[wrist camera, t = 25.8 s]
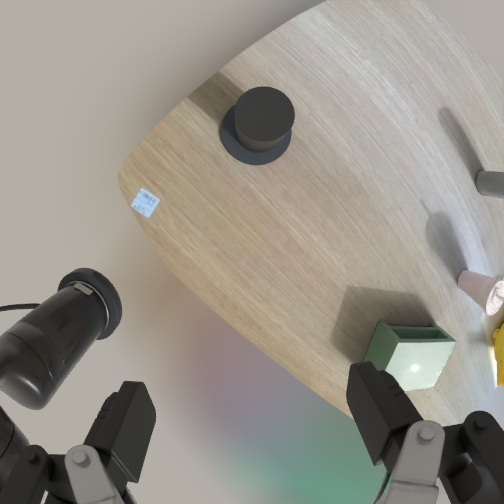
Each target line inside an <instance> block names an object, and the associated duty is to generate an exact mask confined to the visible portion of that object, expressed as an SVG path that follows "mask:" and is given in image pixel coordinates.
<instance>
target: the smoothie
mask: <svg viewBox="0 0 504 504" xmlns="http://www.w3.org/2000/svg"><path fill="white" fill-rule="evenodd" d="M458 287H459V288H460V289H461V290H462V291H464V292H465V293H466V294H467V295H468V296H469V297H470V298H472V299H473V300H474V301H475V302H476V303H477V304H478V305H479V306H480V307H482V308H483V311H484V312H485V313H486V314H488V315H494V314H495V313H496V312H497V311H498V310H499V309H500V307H501V306H502V304H503V302H504V280H502V279H501V278H496V279H495V278H492V277H489V276H485V275H482V274H478V273H475V272H472V271H468V270H464V271H463V272H462V273H461V274H460V276H459V278H458Z"/></svg>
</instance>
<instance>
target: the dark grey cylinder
mask: <svg viewBox="0 0 504 504" xmlns="http://www.w3.org/2000/svg"><path fill="white" fill-rule="evenodd" d="M234 118H235V127H236V135H237V139H238V141H239V143H240V144H241V145H242V146H243V147H244V148H245V149H247V150H249V151H251V152H256V153H262V152H266V151H269V150H270V149H272V148H273V147H274V146H275V145H276V144H277V143H278V142H279V141H280V140H281V139H282V138H283V137H284V136H285V135H286V134H287V133H288V132H289V131H290V129H291V127H292V125H293V123H294V118H295V112H294V107H293V105H292V103H291V101H290V99H289V98H288V97H287V96H286V95H285V94H284V93H282V92H281V91H279V90H277V89H275V88H271V87H256V88H253V89H250V90H248V91H247V92H245V93H244V94H243V95H242V96H241V97H240V98H239V99H238V101H237V103H236V106H235V110H234Z"/></svg>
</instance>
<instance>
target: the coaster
mask: <svg viewBox="0 0 504 504" xmlns="http://www.w3.org/2000/svg"><path fill="white" fill-rule="evenodd" d="M235 106H236V105H234V106H233V107H232V108H231V109H230V110H229V111H228V112H227V114H226V115H225V117H224V119H223V122H222V125H221V137H222V141H223V144H224V146H225V148H226V149H227V151H228V152H229V153H230V154H231V155H232V156H233V157H234V158H236V159H237V160H239V161H241V162H243V163H246V164H250V165H263V164H267V163H270V162H272V161H274V160H276V159H277V158H279V157H280V156H281V155H282V154H283V153H284V152H285V151H286V149H287V147H288V146H289V143H290V140H291V134H292V133H291V129H290V131H289V132H288V133H287V134H286V135H285V136H284V137H283V138H282V139H281V140H280V141H279V142H278V143H277V144H276V145H275V146H274V147H273V148H272V149H270V150H269V151H266V152H262V153H256V152H251V151H249V150H247V149H245V148H244V147H243V146H242V145H241V144H240V143H239V141H238V139H237V135H236V127H235V118H234V110H235Z"/></svg>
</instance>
